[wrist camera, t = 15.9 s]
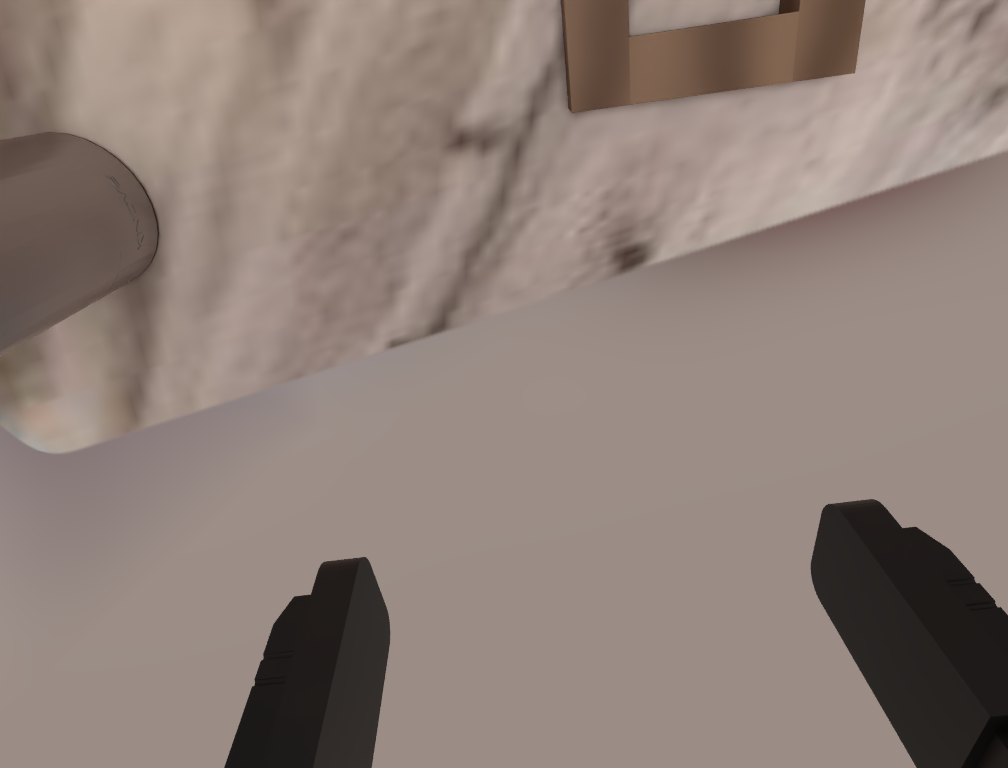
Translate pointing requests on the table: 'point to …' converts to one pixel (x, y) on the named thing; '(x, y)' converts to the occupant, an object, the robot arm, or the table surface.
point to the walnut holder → (703, 52)
